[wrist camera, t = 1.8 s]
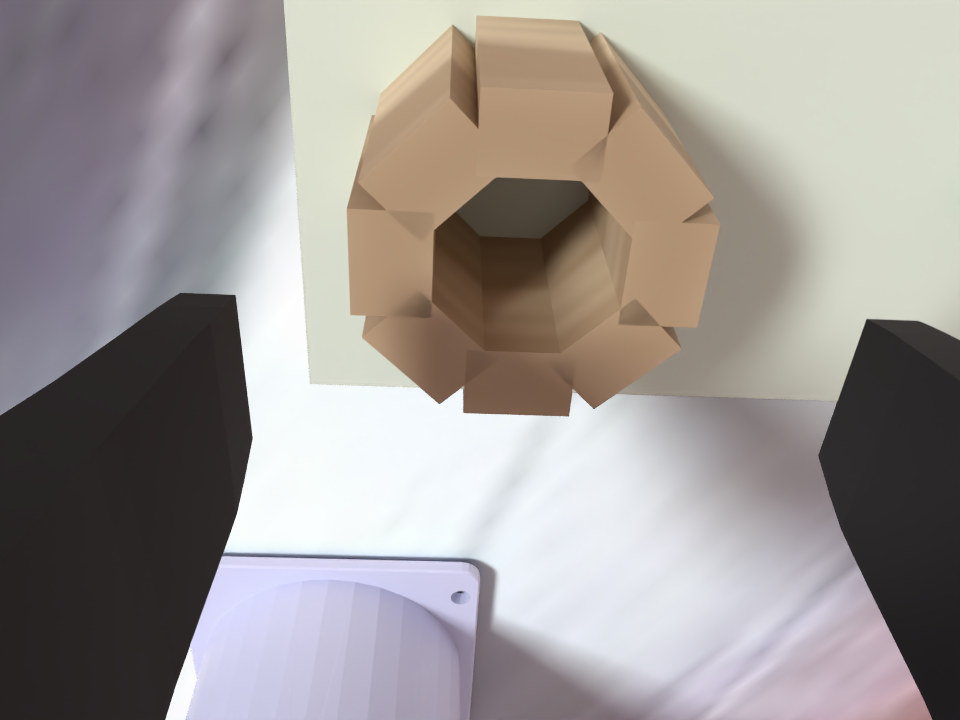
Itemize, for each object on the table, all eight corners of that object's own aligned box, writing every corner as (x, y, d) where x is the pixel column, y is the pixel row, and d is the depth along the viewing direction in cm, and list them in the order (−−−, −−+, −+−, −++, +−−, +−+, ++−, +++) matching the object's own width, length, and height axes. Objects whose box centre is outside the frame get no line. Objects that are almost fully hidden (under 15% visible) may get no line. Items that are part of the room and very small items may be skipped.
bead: (635, 297, 17) (676, 419, 14) (374, 287, 17) (353, 409, 14) (683, 26, 15) (748, 99, 11) (370, 9, 14) (342, 80, 11)
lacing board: (1054, 378, 20) (1251, 576, 15) (317, 352, 19) (267, 553, 14) (1304, -109, 15) (1745, -50, 10) (286, -170, 14) (186, -140, 9)
